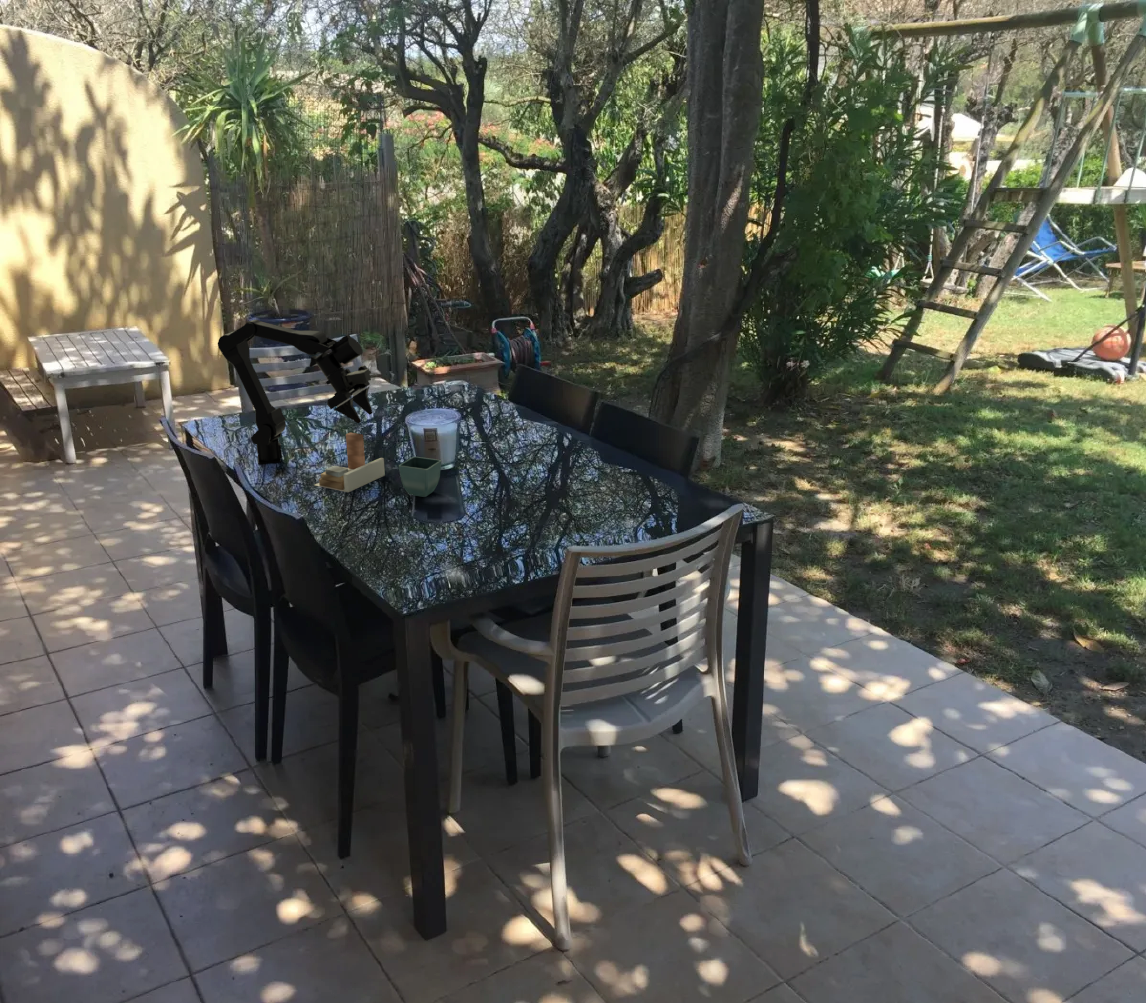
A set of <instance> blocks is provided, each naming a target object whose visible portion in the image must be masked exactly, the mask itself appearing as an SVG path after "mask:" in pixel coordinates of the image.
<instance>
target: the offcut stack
mask: <svg viewBox="0 0 1146 1003" xmlns="http://www.w3.org/2000/svg"><path fill="white" fill-rule="evenodd" d="M346 468H347V467H344V468H343V466H340V465H339V466H338V465H333V466H330V467H327V468H325V470H324V471H323V472H322V473H321V474H320V478H319V479H318V483H319V485H320V486H325V487H330V488H335V489H339V490H344V489H345V487H344V475H343V474H345V473H347V472H348V469H346ZM320 486H319V487H320ZM325 487H324V488H325ZM330 488H329V489H330ZM335 489H334V490H335ZM339 490H338V491H339Z"/></svg>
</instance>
